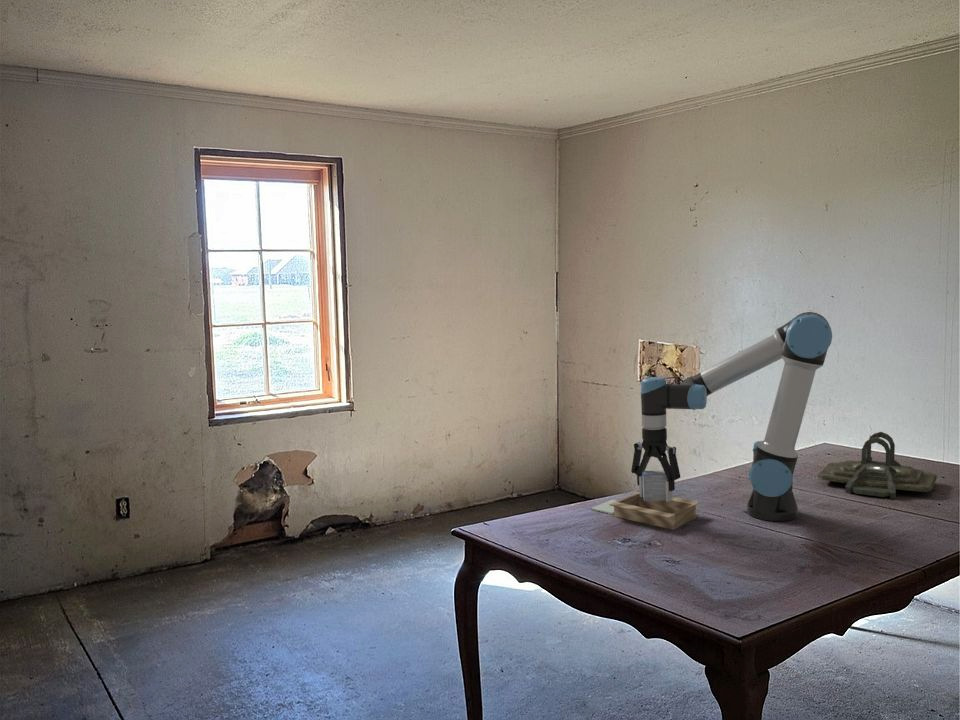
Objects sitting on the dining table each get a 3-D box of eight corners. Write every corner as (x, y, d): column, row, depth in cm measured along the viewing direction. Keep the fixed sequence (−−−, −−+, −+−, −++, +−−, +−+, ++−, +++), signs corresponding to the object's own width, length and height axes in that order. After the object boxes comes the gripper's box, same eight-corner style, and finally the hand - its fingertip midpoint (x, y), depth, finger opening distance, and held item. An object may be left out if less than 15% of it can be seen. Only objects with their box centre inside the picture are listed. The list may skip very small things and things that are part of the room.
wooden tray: (700, 516, 256) (700, 502, 255) (668, 531, 242) (668, 517, 242) (642, 503, 270) (642, 490, 270) (609, 518, 256) (609, 504, 256)
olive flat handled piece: (812, 491, 280) (813, 439, 277) (832, 468, 307) (833, 421, 305) (927, 505, 260) (929, 450, 258) (938, 480, 287) (940, 430, 285)
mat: (632, 505, 269) (632, 503, 269) (611, 514, 260) (611, 512, 260) (612, 501, 274) (612, 499, 274) (591, 509, 265) (591, 508, 265)
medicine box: (668, 496, 257) (667, 470, 256) (669, 500, 253) (669, 473, 252) (642, 497, 258) (641, 470, 257) (644, 501, 253) (643, 474, 252)
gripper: (691, 428, 248) (693, 500, 251) (631, 421, 263) (633, 490, 265) (679, 433, 243) (680, 506, 245) (618, 426, 257) (620, 495, 260)
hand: (656, 498), depth 255 cm, fingers closed on medicine box, 9 cm apart
